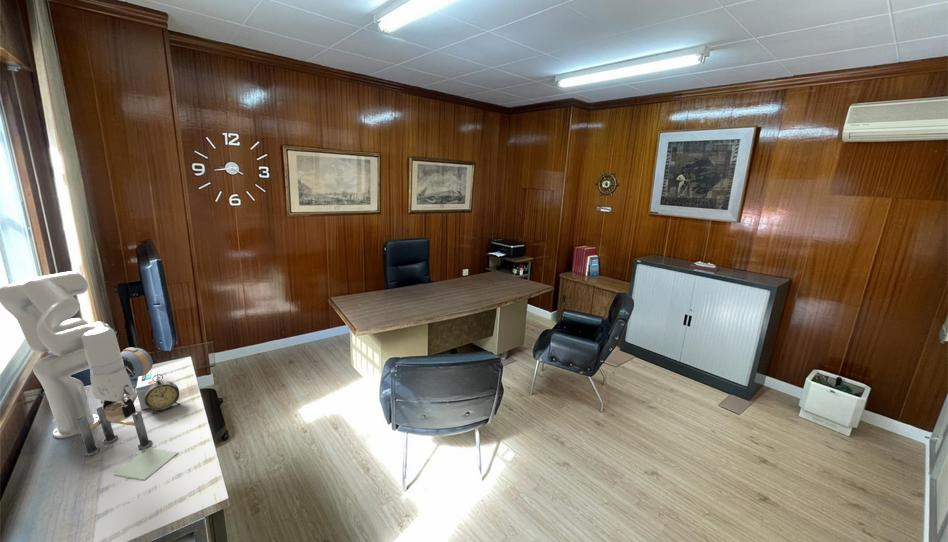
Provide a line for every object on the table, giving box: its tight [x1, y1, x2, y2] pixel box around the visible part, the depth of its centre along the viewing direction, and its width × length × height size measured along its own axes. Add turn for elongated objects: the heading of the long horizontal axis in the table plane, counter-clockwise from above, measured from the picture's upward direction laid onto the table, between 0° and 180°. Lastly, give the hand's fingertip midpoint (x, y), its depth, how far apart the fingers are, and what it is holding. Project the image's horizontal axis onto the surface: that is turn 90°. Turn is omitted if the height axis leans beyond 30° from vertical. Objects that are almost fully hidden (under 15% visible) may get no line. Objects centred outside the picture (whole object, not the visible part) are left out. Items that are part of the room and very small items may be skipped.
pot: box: [104, 398, 134, 423], centre depth 121 cm, size 6×6×4 cm
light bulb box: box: [135, 371, 160, 410], centre depth 157 cm, size 11×7×11 cm, turn 37°
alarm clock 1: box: [120, 347, 161, 390], centre depth 170 cm, size 14×10×18 cm
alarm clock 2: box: [145, 373, 180, 414], centre depth 152 cm, size 11×5×16 cm, turn 132°
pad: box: [113, 447, 179, 481], centre depth 126 cm, size 12×12×1 cm
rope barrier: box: [77, 405, 153, 457], centre depth 130 cm, size 19×10×14 cm, turn 81°
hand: (121, 413), depth 121 cm, fingers closed on pot, 6 cm apart
